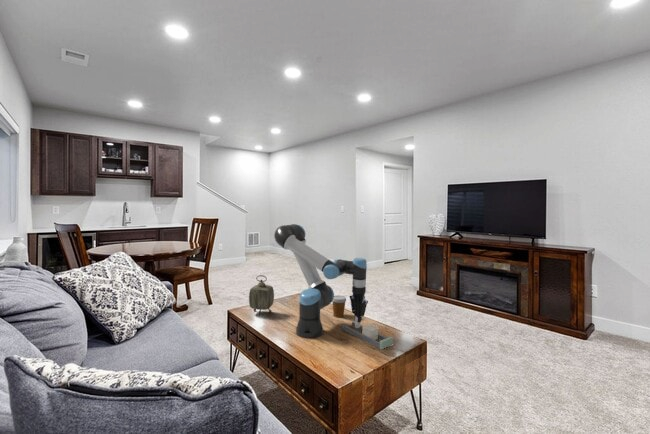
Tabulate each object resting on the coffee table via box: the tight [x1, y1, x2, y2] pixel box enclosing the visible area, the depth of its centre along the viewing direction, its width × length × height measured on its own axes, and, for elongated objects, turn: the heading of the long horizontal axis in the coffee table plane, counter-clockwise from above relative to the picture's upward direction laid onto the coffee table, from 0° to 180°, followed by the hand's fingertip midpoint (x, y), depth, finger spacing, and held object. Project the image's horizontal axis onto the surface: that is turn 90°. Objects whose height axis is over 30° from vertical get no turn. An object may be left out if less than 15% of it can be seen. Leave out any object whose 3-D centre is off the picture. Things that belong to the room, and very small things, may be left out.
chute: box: [341, 321, 394, 350], centre depth 172 cm, size 9×30×4 cm, turn 38°
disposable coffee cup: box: [331, 295, 347, 318], centre depth 202 cm, size 10×10×12 cm
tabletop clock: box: [248, 275, 275, 315], centre depth 203 cm, size 14×9×25 cm, turn 82°
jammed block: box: [361, 324, 379, 341], centre depth 170 cm, size 6×6×6 cm
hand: (357, 327), depth 177 cm, fingers closed
